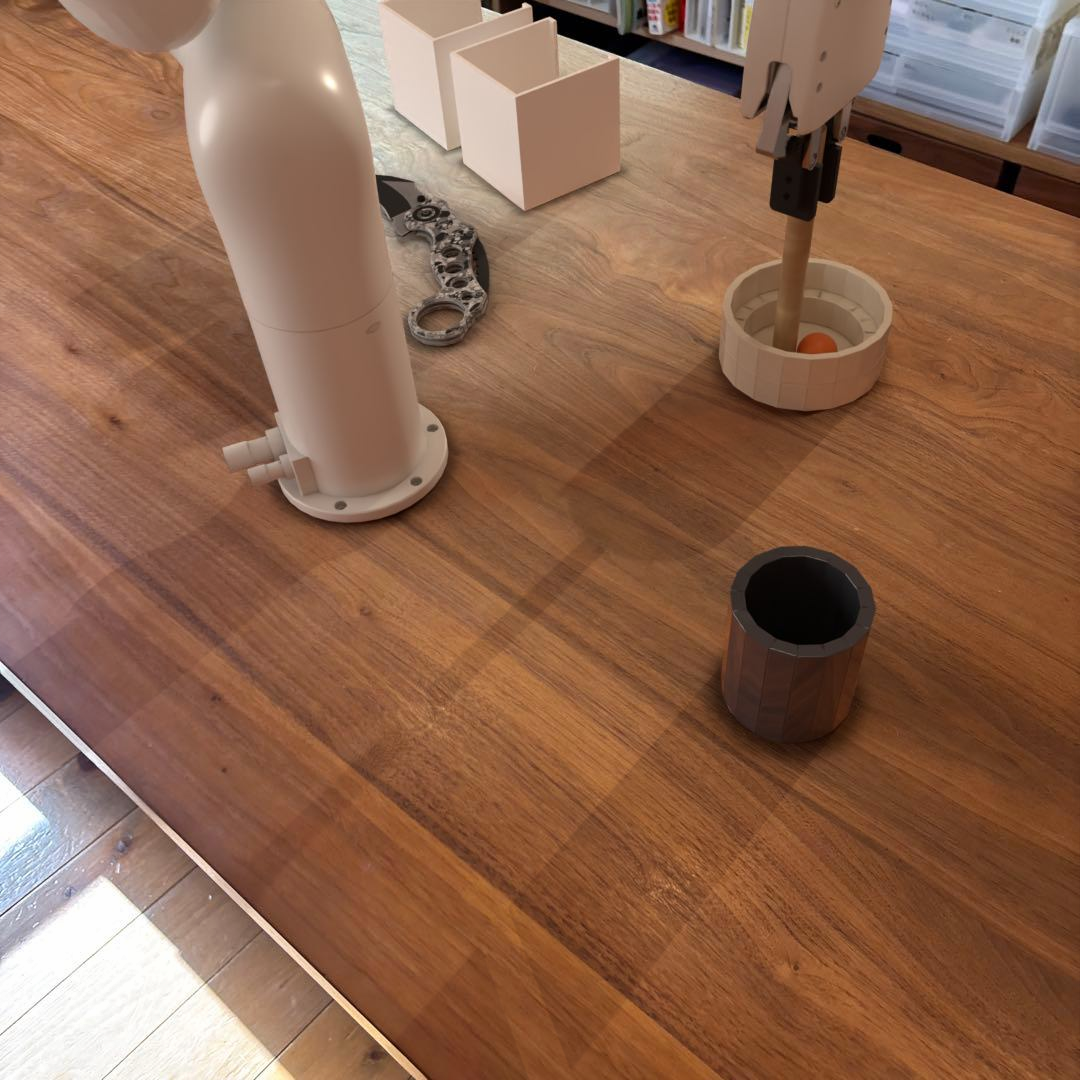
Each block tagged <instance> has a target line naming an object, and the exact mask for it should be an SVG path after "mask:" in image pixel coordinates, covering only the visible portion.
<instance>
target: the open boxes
mask: <svg viewBox="0 0 1080 1080" xmlns="http://www.w3.org/2000/svg"><path fill="white" fill-rule="evenodd" d="M376 3H377V4H376V5H377V11H378V16H379V17H378V18H379V24H380V29H381V35H382V42H383V47H384V54H385V59H386V65H387V70H388V77H389V82H390V87H391V94H392V98H393V99H392V100H393V105H394V110H395V111H396V112H397V113H399V114H400V115H401V116H402V117H403V118H405V119H406V120H408V121H409V122H410V123H412V124H413V125H414V126H415V127H417V128H418V129H419V130H421V131H422V132H423V133H424V134H425V135H427V136H428V137H429V138H431V140H433V141H434V142H436V143H437V144H438V145H440V147H442V148H443V149H444V150H446V151H447V152H449V151H452V150H455V149H456V148H460V147H461V153H462V162H463V164H464V165H465V166H467V168H469V169H470V170H471V171H472V172H474V173H475V174H476V175H478V176H479V177H480V178H481V179H483V180H484V181H485V182H486V183H488V184H489V185H490V186H492V187H493V188H494V189H495V190H496V191H498V192H499V193H501V194H502V195H503V196H504V197H505V198H507V199H508V200H509V201H511V202H512V203H513V204H515V205H516V206H517V207H518V208H519V209H521V210H522V211H524V212H527V211H529V210H532V209H534V208H536V207H539V206H541V205H543V204H546V203H549V202H550V201H552V200H555V199H557V198H559V197H562V196H564V195H567V194H569V193H571V192H574V191H576V190H579V189H581V188H584V187H585V186H588V185H590V184H594V183H595V182H598V181H599V180H602V179H604V178H607V177H609V176H611V175H614V174H616V173H618V172H621V89H620V88H621V87H620V86H621V83H620V82H621V81H620V78H621V77H620V75H621V74H620V70H621V69H620V56H617V55H616V54H614V53H613V52H612V53H609V54H608V55H607V56H608V57H607V58H608V59H605V60H602V61H600V62H598V63H595V64H592V65H589V66H587V67H584V68H581V69H579V70H576V71H574V72H571V73H569V74H566V75H564V76H560V63H559V62H560V61H559V44H558V42H559V41H558V24H557V23H558V22H557V20H556V19H554V18H553V17H551V16H548V17H544V18H542V19H539V20H537V21H534V17H533V16H534V15H533V6H532V5H531V4H530V3H527V2H523V3H522V4H521V7H520V8H517V9H514V10H512V11H508V12H506V13H503V14H500V15H497V16H494V17H492V18H489V19H486V20H484V19H483V11H482V0H382V1H379V2H376Z"/></svg>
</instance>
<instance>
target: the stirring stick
mask: <svg viewBox="0 0 1080 1080" xmlns="http://www.w3.org/2000/svg"><path fill="white" fill-rule="evenodd" d="M826 132H827V126H826V125H825V124H823V125H822V132H821V140H820V148H819V155H818V160H817V163H820V164H822V161H823V154H824V146H825V139H826ZM796 135H797V136H798V137H801V139H802V140H803V141H804V139H805V135H799V134H798V132H797V134H796ZM786 216H787V218H786V226H785V235H784V242H783V250H782V258H781V259H782V267H781V275H780V284H779V292H778V301H777V309H776V318H775V326H774V335H773V343H772V347H774V348H777V349H780V350H783V351H786V352H794V353H796V348H797V340H798V333H799V326H800V319H801V312H802V304H803V297H804V290H805V283H806V276H807V269H808V261H809V258H810V254H811V247H812V238H813V232H814V225H815V218H816V216H815V217H814V218H813V219H812V220H811V221H809V222H806V221H803V220H800V219H797V218H794V217H791V216H788V215H786Z"/></svg>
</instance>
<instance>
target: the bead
mask: <svg viewBox="0 0 1080 1080" xmlns="http://www.w3.org/2000/svg"><path fill="white" fill-rule="evenodd" d="M833 352H837V346H836V343H835V342H834V340H833V339H832V338H831V337H830V336H828V335H827V334H824V333H818V332H817V333H811V334H809V335H807V336H805V337H804V338H803V339H802V340H801V341H800V343H799V345H798V347H797V352H796V353H803V354H822V353H833Z"/></svg>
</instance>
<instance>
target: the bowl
mask: <svg viewBox="0 0 1080 1080" xmlns="http://www.w3.org/2000/svg"><path fill="white" fill-rule="evenodd" d="M781 267H782V258H778V259H774V260H771V261H768V262H767V261H766V262H763V263H760V264H757V265H755V266H752V267H751V268H749V269H748V270H746V271H744V272H742V273H741V274H739V275H737V276H736V278H735V279H734V280H733V281H732V282H731V284H729V286H728V287H727V288H726V290H725V294H724V297H723V300H722V305H721V319H720V334H719V346H718V347H719V348H718V359H719V363H720V367H721V370H722V373H723V374H724V376H725V377H726V378H727V379H728V381H729V383H731V385H732V386H733V387H734V388H735V389H737V390H739V391H740V392H742V393H743V394H745V395H746V396H748V397H749V398H751V399H752V400H754V401H756V402H758V403H761V404H765V405H767V406H771V407H773V408H776V409H783V410H792V411H799V412H800V411H801V412H814V411H822V410H823V411H824V410H832V409H835V408H838V407H841V406H844V405H847V404H850V403H853V402H854V401H857V399H859V398H861V397H862V396H863V395H865V394H866V393H868V392H870V390H871V389H872V388H873V387H874V385H875V383H876V382H877V380H878V379H879V377H880V376H881V374H882V368H883V364H884V360H885V355H886V350H887V346H888V342H889V336H890V332H891V327H892V324H893V323H892V322H893V310H894V308H893V307H894V306H893V303H892V301H891V300H890V297H889V295H888V293H887V290H886V289H885V288H884V287H883V286H881V284H880V283H879V282H878V281H877V280H876V279H874V278H873V277H872V276H871V275H869V274H867V273H864V272H863V271H862V270H859V269H858V268H856V267H853V266H851V265H848V264H845V263H841V262H839V261H834V260H831V259H827V258H818V257H817V258H816V257H809V261H808V269H807V276H806V283H805V290H804V297H803V304H802V312H801V319H800V326H799V333H798V340H797V347H798V345H799V343H800V341H801V340H802V339H803V338H804V337H805V336H807V335H809V334H811V333H817V332H818V333H824V334H827V335H828V336H830V337H831V338H832V339H833V340H834V342H835V343H836V346H837V352H833V353H822V354H803V353H794V352H786V351H783V350H780V349H777V348H774V347H772V343H773V335H774V326H775V318H776V309H777V301H778V292H779V284H780V275H781ZM796 352H797V348H796Z"/></svg>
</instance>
